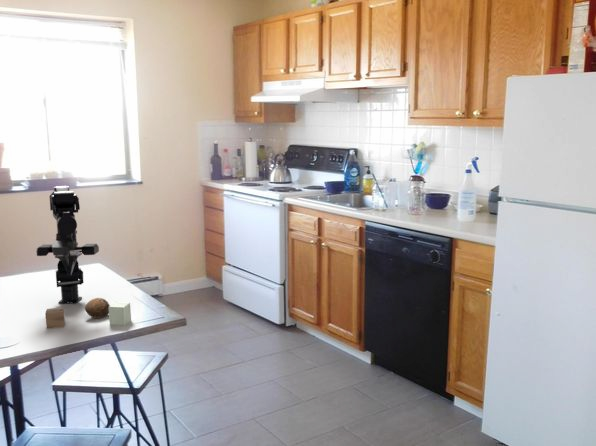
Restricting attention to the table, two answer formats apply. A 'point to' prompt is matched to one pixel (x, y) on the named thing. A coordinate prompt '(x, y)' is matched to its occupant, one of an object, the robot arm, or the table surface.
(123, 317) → the sage block
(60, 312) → the walnut block
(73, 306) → the table surface
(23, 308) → the table surface
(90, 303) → the coconut
